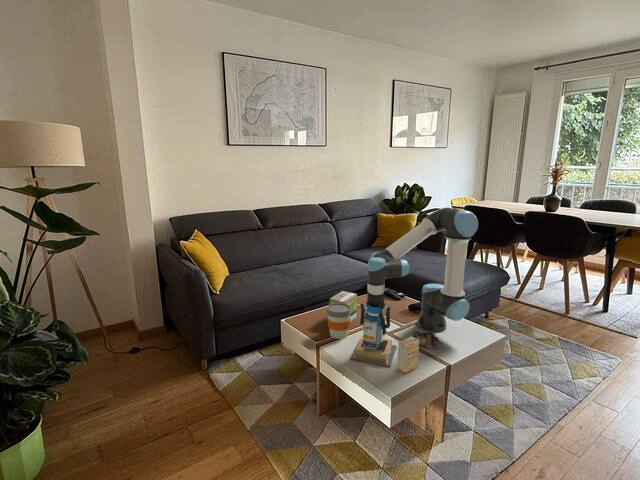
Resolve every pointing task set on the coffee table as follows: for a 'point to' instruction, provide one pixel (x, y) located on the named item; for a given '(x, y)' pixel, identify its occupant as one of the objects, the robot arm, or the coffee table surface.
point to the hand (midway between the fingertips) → (374, 339)
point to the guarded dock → (375, 353)
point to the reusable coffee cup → (339, 320)
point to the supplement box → (408, 354)
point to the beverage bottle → (372, 327)
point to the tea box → (346, 301)
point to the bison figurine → (426, 338)
